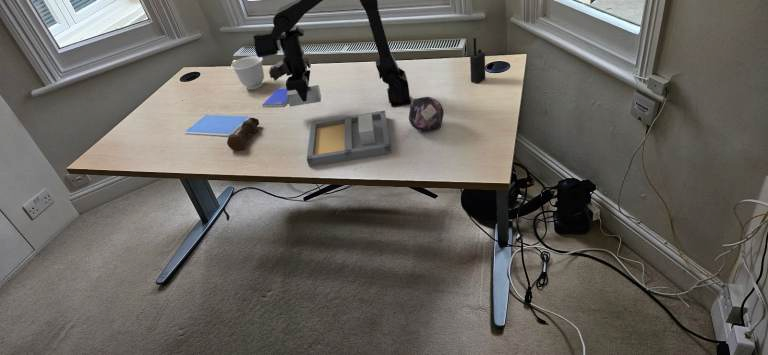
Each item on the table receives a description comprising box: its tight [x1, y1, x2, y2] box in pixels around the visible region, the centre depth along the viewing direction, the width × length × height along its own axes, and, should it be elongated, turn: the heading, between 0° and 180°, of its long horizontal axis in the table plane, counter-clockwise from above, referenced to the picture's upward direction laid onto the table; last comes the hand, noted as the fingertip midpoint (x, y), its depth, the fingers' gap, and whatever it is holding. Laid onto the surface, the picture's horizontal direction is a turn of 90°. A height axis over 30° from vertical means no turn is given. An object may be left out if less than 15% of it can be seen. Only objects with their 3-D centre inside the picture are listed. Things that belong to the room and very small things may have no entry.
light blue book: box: [184, 114, 251, 137], centre depth 158 cm, size 19×13×1 cm, turn 70°
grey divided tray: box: [306, 110, 392, 167], centre depth 136 cm, size 23×21×5 cm
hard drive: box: [261, 88, 289, 108], centre depth 169 cm, size 2×8×12 cm
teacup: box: [230, 55, 265, 90], centre depth 180 cm, size 12×15×10 cm
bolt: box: [226, 117, 260, 152], centre depth 147 cm, size 6×5×15 cm
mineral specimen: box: [408, 96, 444, 133], centre depth 134 cm, size 10×10×10 cm
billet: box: [287, 84, 322, 108], centre depth 150 cm, size 4×10×4 cm, turn 94°
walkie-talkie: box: [469, 37, 486, 84], centre depth 153 cm, size 5×3×15 cm
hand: (305, 98), depth 150 cm, fingers closed on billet, 4 cm apart
